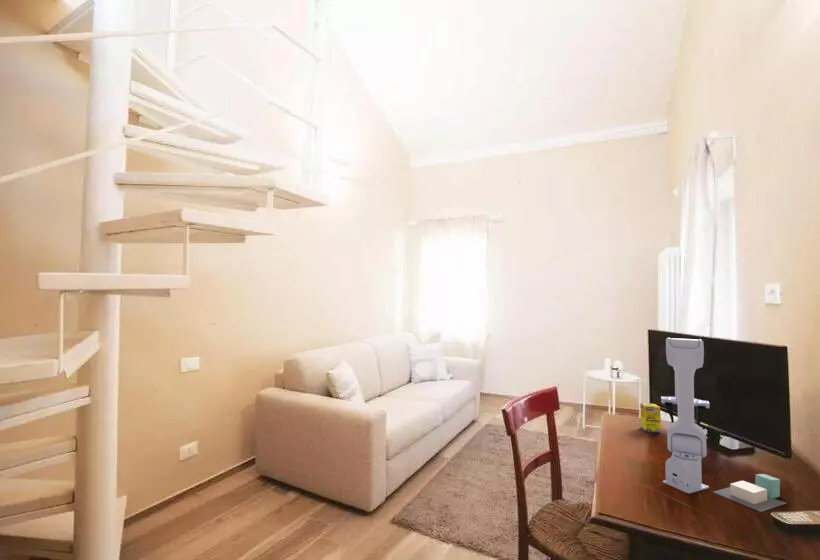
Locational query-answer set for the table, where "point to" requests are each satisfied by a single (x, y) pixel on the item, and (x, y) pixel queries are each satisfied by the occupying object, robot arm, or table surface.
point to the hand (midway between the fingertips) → (685, 424)
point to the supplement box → (650, 418)
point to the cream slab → (748, 492)
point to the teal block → (768, 484)
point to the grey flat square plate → (759, 506)
